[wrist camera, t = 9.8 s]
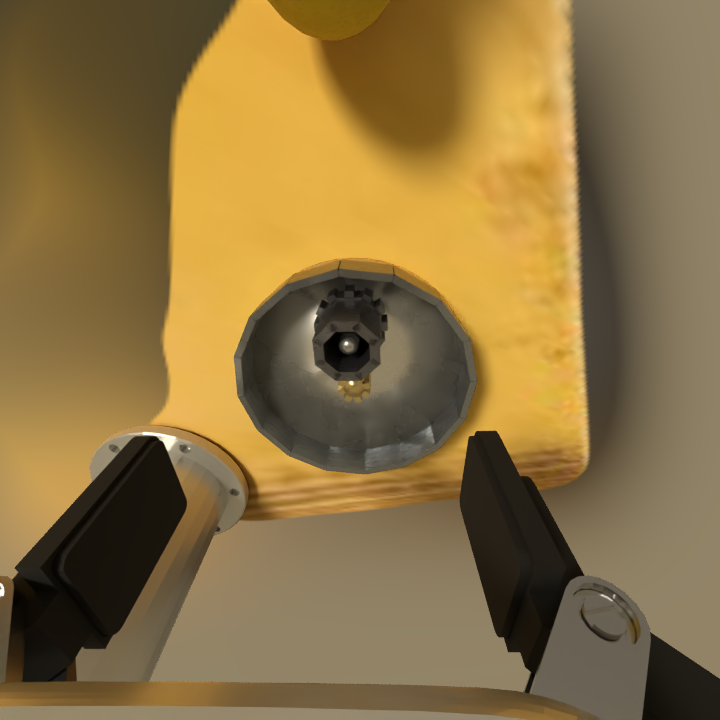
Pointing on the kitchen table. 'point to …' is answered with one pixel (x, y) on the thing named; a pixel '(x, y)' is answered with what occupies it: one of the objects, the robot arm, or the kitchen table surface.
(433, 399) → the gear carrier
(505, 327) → the kitchen table surface
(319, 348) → the gear
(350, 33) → the lemon
